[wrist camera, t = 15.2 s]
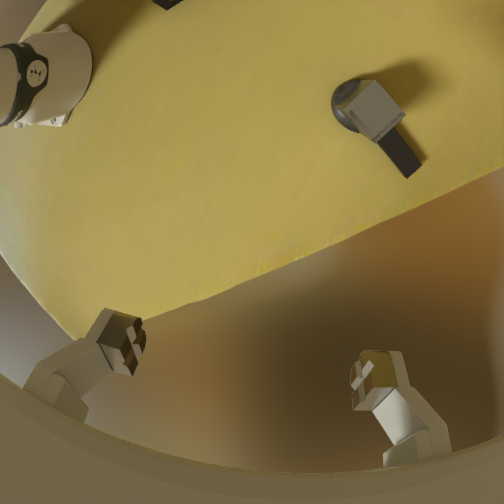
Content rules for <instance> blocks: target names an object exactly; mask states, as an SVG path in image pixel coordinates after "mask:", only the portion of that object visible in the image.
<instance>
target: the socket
mask: <svg viewBox="0 0 504 504" xmlns="http://www.w3.org/2000/svg"><path fill="white" fill-rule="evenodd" d="M334 106H335V107H336V108H337V109H338V110H339V111H340V112H341V113H342V114H343V115H344V116H345V117H346V118H347V119H348V120H349V121H350V122H351V123H352V124H353V125H354V126H355V127H356V129H357V130H358V131H359V132H360V133H361V134H362V135H364V136H365V137H367V138H368V139H369V140H371V141H372V142H374V143H376V142H377V141H378V140H380V139H381V138H382V137H383V136H384V135H385V134H386V133H387V132H388V131H389V130H390V129H391V128H393V127H394V126H395V125H396V124H397V123H398V122H399V121H400V120H401V119H402V118H403V117H404V116H406V115H405V113H404V112H403V111H402V110H401V109H400V107H399V106H398V105H397V104H396V102H395V101H394V100H393V99H392V98H391V97H390V95H389V94H388V93H387V92H386V91H385V90H384V89H383V87H382V86H381V85H380V84H379V83H378V82H377V81H376V80H360V81H359V82H358V83H357V84H356V85H355V86H354V87H353V88H352V89H351V90H350V91H348V92H347V93H346V94H345V95H344V96H343V97H342V98H341V99H340V100H339V101H338V102H337V103H336V104H335V105H334Z"/></svg>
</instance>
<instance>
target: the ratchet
mask: <svg viewBox="0 0 504 504" xmlns="http://www.w3.org/2000/svg"><path fill="white" fill-rule="evenodd" d="M359 81H360V80H350V81H346V82H344V83H342V84H340V85H339V86H338V87H337V88H336V89H335V91H334V93H333V95H332V99H331V107H332V111H333V114H334V116H335V118H336V119H337V120H338V121H339V123H341V124H342V125H343V126H344V127H346V128H347V129H349V130H351V131H353V132H357V133H360V132H359V131H358V130H357V129H356V127H355V126H354V125H353V124H352V123H351V122H350V121H349V120H348V119H347V118H346V117H345V116H344V115H343V114H342V113H341V112H340V111H339V110H338V109H337V108H336V107H335V106H334V105H335V104H336V103H337V102H338V101H339V100H340V99H341V98H342V97H343V96H344V95H345V94H346V93H347V92H348V91H350V90H351V89H352V88H353V87H354V86H355V85H356V84H357V83H358V82H359ZM376 143H377V144H378V145H379V146H380V147H381V149H382V150H383V151H384V152H385V153H386V155H387V156H388V157H389V158H390V159H391V161H392V162H393V163H394V164H395V166H396V167H397V168H398V169H399V171H400V172H401V173H402V175H403V176H404V177H405V178H406V179H407V178H409V177H410V176H411V175H412V174H413V173H414V172H415V171H416V170H417V169H418V168H419V167H421V166H422V164H421V163H420V161H419V160H418V158H417V157H416V156H415V154H414V153H413V152H412V150H411V149H410V148H409V146H408V145H407V144H406V142H405V141H404V140H403V138H402V137H401V136H400V135H399V133H398V132H397V131H396V130H395V128H394V127H393V128H391V129H390V130H389V131H388V132H387V133H386V134H385V135H384V136H383V137H382V138H381V139H380V140H378V141H377V142H376Z"/></svg>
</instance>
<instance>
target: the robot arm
mask: <svg viewBox="0 0 504 504" xmlns="http://www.w3.org/2000/svg"><path fill="white" fill-rule="evenodd" d="M91 71H92V56H91V51H90V48H89V46H88V44H87V42H86V41H85V40H84V39H83V38H82V37H80V36H79V35H77V34H75V33H74V32H73V31H72V29H71V27H70V25H69V24H61V25H59V26H58V27H56V28H55V29H53V30H52V31H50V32H40V33H33V34H31V35H30V36H29V37H28V38H26V39H25V40H24V41H23V42H21V43H18V42H16V43H10V44H7V45H3V46H1V47H0V127H2V126H7V125H9V124H12V123H13V122H14V127H15V128H21V127H28V126H30V125H34V124H42V125H50V126H57V127H59V126H63V125H65V123H66V121H67V119H68V117H69V114H70V112H71V110H72V109H73V108H74V107H75V106H76V105H77V103H78V102H79V101H80V100H81V98H82V97H83V95H84V93H85V91H86V89H87V86H88V84H89V81H90V77H91ZM142 324H143V323H142V319H141V318H139V317H136V316H132V315H129V314H125V313H122V312H118V311H115V310H111V309H108V308H105V309H103V310H102V311H101V313H100V314H99V316H98V317H97V319H96V320H95V322H94V324H93V325H92V327H91V328H90V330H89V332H88V333H87V335H86V337H85V338H80V339H78V340H76V341H75V342H73V343H71V344H70V345H68V346H66V347H64V348H62V349H61V350H59V351H57V352H56V353H54V354H52V355H50V356H48V357H47V358H45V359H44V360H41V361H40V362H38V363H37V364H36V366H35V368H34V369H33V371H32V373H31V374H30V376H29V378H28V380H27V381H26V383H25V385H24V387H23V389H22V388H21V387H19V386H18V385H16V384H15V383H13V382H12V381H10V380H9V379H8V378H6V377H5V376H3V375H2V374H1V373H0V504H504V435H502V436H499V437H497V438H494V439H492V440H489V441H487V442H484V443H482V444H479V445H476V446H474V447H471V448H468V449H465V450H462V451H458V452H455V453H452V451H451V445H450V440H449V434H448V429H447V425H446V423H445V422H444V421H443V420H442V419H441V418H440V417H439V416H438V414H437V413H436V412H435V411H434V410H433V409H432V408H431V406H430V405H429V404H428V403H427V402H426V401H425V400H424V399H423V397H422V396H421V395H420V394H419V393H418V392H417V391H416V390H415V388H414V387H410V384H409V380H408V376H407V372H406V368H405V364H404V360H403V357H402V354H401V352H398V351H369V350H368V351H367V350H365V351H363V352H362V353H361V355H360V360H359V361H358V362H356V363H355V364H354V366H353V367H352V370H351V374H350V383H351V386H352V387H353V389H354V390H355V391H354V393H353V394H352V404H353V410H373V413H374V414H375V416H376V418H377V419H378V421H379V422H380V424H381V425H382V427H383V428H384V430H385V432H386V433H387V435H388V436H389V438H390V439H391V441H392V442H393V444H394V447H392V448H390V449H389V450H387V451H386V452H385V453H384V454H383V461H384V468H383V469H375V470H366V471H356V472H342V473H281V472H266V471H257V470H247V469H240V468H233V467H226V466H220V465H215V464H209V463H204V462H199V461H194V460H190V459H186V458H182V457H178V456H174V455H170V454H166V453H163V452H160V451H156V450H153V449H150V448H147V447H143V446H141V445H138V444H135V443H132V442H129V441H126V440H123V439H121V438H118V437H116V436H113V435H111V434H108V433H106V432H103V431H101V430H98V429H96V428H94V427H92V426H89V425H87V424H85V423H84V421H85V418H86V416H87V413H88V411H89V408H88V406H87V405H86V404H85V403H84V402H83V400H82V399H81V398H82V396H84V395H85V394H87V393H88V392H89V391H91V390H92V389H93V388H94V387H96V386H97V385H98V384H99V383H101V382H102V381H103V380H104V379H106V378H107V377H108V376H109V375H111V374H112V373H113V371H114V372H117V373H120V374H123V375H127V376H130V377H132V376H133V375H134V372H135V370H136V368H137V365H138V361H137V357H139V356H140V355H142V354H143V351H144V349H145V345H146V334H145V331H144V330H143V329H142V328H141V327H142Z"/></svg>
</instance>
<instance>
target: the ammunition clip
mask: <svg viewBox="0 0 504 504" xmlns="http://www.w3.org/2000/svg"><path fill="white" fill-rule="evenodd" d="M181 1H183V0H152V2H154V3H156V4H157V5H159V6H160V7H162V8H164V9H165V10H169V9H170V8H172V7H173V6H175V5H176V4H178V3H179V2H181Z"/></svg>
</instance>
